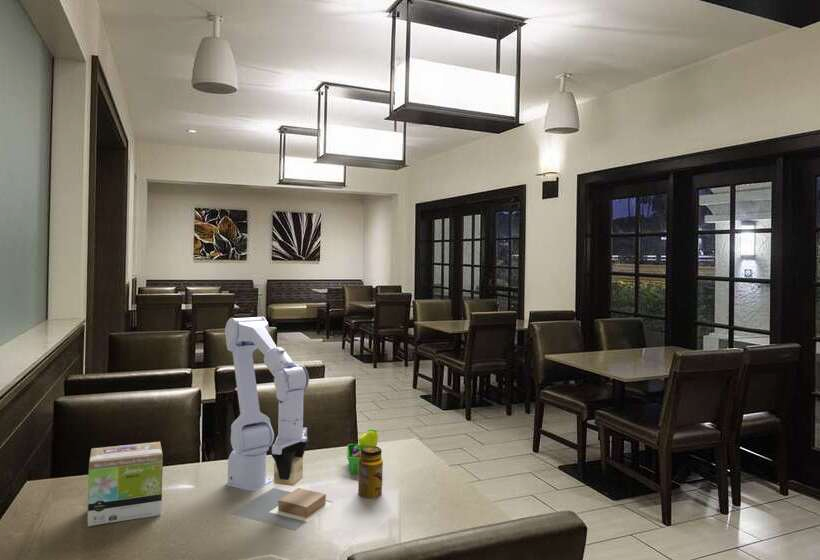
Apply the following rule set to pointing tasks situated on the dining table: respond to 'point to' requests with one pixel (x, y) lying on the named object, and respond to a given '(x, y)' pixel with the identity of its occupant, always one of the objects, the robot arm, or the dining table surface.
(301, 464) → the maple cube
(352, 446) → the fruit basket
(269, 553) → the dining table surface
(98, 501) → the tea box
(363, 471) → the condiment
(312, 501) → the walnut base
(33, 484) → the dining table surface
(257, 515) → the mat
